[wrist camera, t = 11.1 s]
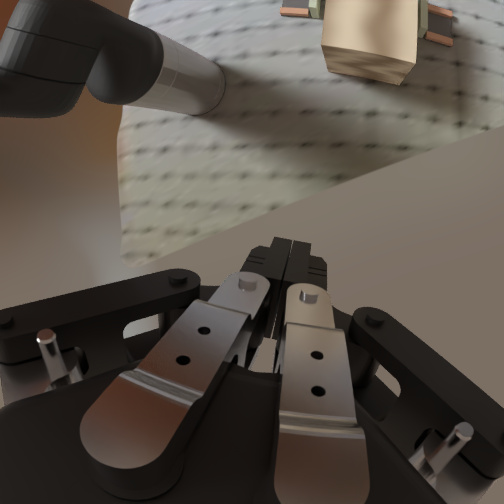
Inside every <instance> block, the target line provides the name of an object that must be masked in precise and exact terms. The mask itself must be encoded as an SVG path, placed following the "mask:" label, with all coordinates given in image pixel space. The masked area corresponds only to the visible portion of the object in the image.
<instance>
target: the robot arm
mask: <svg viewBox="0 0 504 504" xmlns="http://www.w3.org/2000/svg"><path fill="white" fill-rule="evenodd" d="M85 84H86V86H87V88H88V90H89V92H90V93H91V94H92V96H94V97H95V98H96V99H98V100H99V101H101V102H104V103H109V104H117V105H128V106H136V107H144V108H151V109H158V110H165V111H171V112H177V113H182V114H188V115H200V114H204V113H206V112H208V111H210V110H211V109H213V108H214V107H215V106H216V105H217V104H218V103H219V101H220V100H221V98H222V96H223V94H224V90H225V77H224V74H223V72H222V70H221V69H220V67H219V66H218V65H216V64H215V63H214V62H212V61H210V60H209V59H207V58H205V57H203V56H202V55H200V54H198V53H196V52H194V51H193V50H191V49H189V48H187V47H185V46H183V45H181V44H179V43H178V42H176V41H174V40H172V39H170V38H168V37H166V36H164V35H161V34H159V33H157V32H155V31H153V30H151V29H149V28H147V27H145V26H142V25H140V24H138V23H135V22H133V21H131V20H129V19H127V18H124V17H122V16H120V15H118V14H116V13H114V12H112V11H110V10H109V9H107V8H105V7H103V6H101V5H99V4H97V3H95V2H93V1H91V0H19V2H18V4H17V6H16V8H15V9H14V11H13V14H12V16H11V18H10V20H9V23H8V25H7V27H6V29H5V32H4V34H3V37H2V39H1V42H0V117H16V118H51V117H57V116H61V115H64V114H66V113H67V112H69V111H70V110H72V108H73V107H74V106H75V104H76V103H77V101H78V99H79V97H80V95H81V93H82V90H83V88H84V86H85ZM291 244H292V240H289V239H284V238H279V237H274V239H273V241H272V244H271V246H270V248H269V247H263V246H258V247H256V248H254V249H252V250H251V252H250V254H249V256H248V257H247V259H246V261H245V263H244V264H243V266H242V268H241V270H240V272H236V273H233V274H230V275H229V276H228V277H227V278H226V279H225V280H224V282H223V283H222V284H221V286H200V281H201V280H200V277H199V276H198V275H197V274H196V273H195V272H192V271H190V270H186V269H169V270H165V271H160V272H156V273H152V274H148V275H144V276H139V277H135V278H131V279H127V280H123V281H119V282H114V283H110V284H106V285H102V286H97V287H93V288H90V289H85V290H81V291H77V292H73V293H68V294H65V295H60V296H56V297H52V298H47V299H43V300H39V301H35V302H31V303H27V304H23V305H19V306H15V307H10V308H6V309H2V310H0V378H1V386H2V393H3V399H4V405H5V406H4V407H2V408H1V409H0V504H477V502H478V501H479V500H480V499H481V497H482V496H483V495H484V494H485V492H486V491H487V490H488V489H489V488H490V487H491V486H492V485H493V484H495V483H496V482H497V481H498V480H499V479H500V478H501V477H503V476H504V408H502V407H501V406H500V405H499V404H498V403H497V402H495V401H494V400H493V399H492V398H491V397H490V396H488V395H487V394H486V393H485V392H484V391H483V390H481V389H480V388H479V387H478V386H477V385H475V384H474V383H473V382H472V381H471V380H469V379H468V378H467V377H466V376H465V375H463V374H462V373H461V372H460V371H459V370H457V369H456V368H455V367H454V366H453V365H451V364H450V363H449V362H448V361H447V360H445V359H444V358H443V357H442V356H440V355H439V354H438V353H437V352H435V351H434V350H433V349H432V348H431V347H429V346H428V345H427V344H426V343H424V342H423V341H422V340H421V339H419V338H418V337H417V336H416V335H414V334H413V333H412V332H411V331H409V330H408V329H407V328H406V327H404V326H403V325H402V324H401V323H399V322H398V321H397V320H396V319H394V318H393V317H392V316H390V315H389V314H388V313H386V312H384V311H382V310H380V309H377V308H372V307H361V308H358V309H357V310H355V311H354V313H353V316H351V315H349V314H346V313H344V312H341V311H339V310H338V309H336V308H335V307H333V306H332V303H331V297H330V295H329V293H327V264H326V262H325V261H324V260H323V259H322V258H321V257H316V256H311V255H310V250H311V243H305V242H300V241H295V240H294V241H293V245H292V249H291ZM290 250H291V253H290ZM289 256H290V257H289ZM156 314H158V321H159V328H158V329H154V330H151V331H148V332H145V333H141V334H138V335H135V336H132V337H129V338H125V339H124V338H123V330H124V328H125V327H126V325H127V324H129V323H130V322H133V321H136V320H139V319H142V318H146V317H149V316H153V315H156ZM276 314H277V316H276ZM275 318H276V321H275ZM274 322H275V327H274V331H273V337H272V339H275V340H277V343H276V348H275V352H274V357H273V364H272V372H271V373H260V372H253V371H251V368H252V366H253V364H254V362H255V359H256V357H257V354H258V352H259V346H260V344H261V343H262V340H263V337H266V338H270V337H271V333H272V329H273V326H274ZM380 364H381V365H382V366H383V367H384V368H385V369H386V370H387V371H388V372H389V373H390V374H391V375H392V376H393V377H395V378H396V379H397V381H398V382H399V384H400V388H401V393H400V396H399V397H397V396H396V395H395V394H394V393H393V392H392V391H391V390H390V389H389V388H388V387H387V386H386V385H385V384H384V383H383V382H382V381H381V380H380V379H379V378H378V377H377V376H376V375H375V373H376V371H377V369H378V367H379V365H380Z"/></svg>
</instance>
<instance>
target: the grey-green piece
mask: <svg viewBox="0 0 504 504" xmlns="http://www.w3.org/2000/svg"><path fill="white" fill-rule="evenodd" d="M320 4H321V0H283V4H282V7H280V14H281V16H296V17H308V18H309V10H310V13H311V16H312V18H319V14H320ZM451 18H452V11H449V10H446V9H443V8H440V7H437V6H434V5H430V4H428V0H418V24H417V37H419V38H422V37H423V36H424V34H425V39H426V40H430V41H433V42H436V43H439V44H443V45H446V46H449V47H451V46H452V45H453V39H451Z"/></svg>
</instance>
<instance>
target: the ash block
mask: <svg viewBox="0 0 504 504" xmlns="http://www.w3.org/2000/svg"><path fill="white" fill-rule="evenodd" d="M417 24H418V0H326V4H325V13H324V23H323V32H322V41H321V47H322V50H323V54H324V58H325V61H326V65H327V69H328V71H329V72H335V73H341V74H347V75H353V76H358V77H363V78H368V79H373V80H378V81H382V82H387V83H391V84H395V85H400V83H401V82H402V81H403V79H404V78H405V77H406V76H407V74H408V73H409V72H410V70H411V69H412V68H413V66H414V65H415V64H416V51H417Z"/></svg>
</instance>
